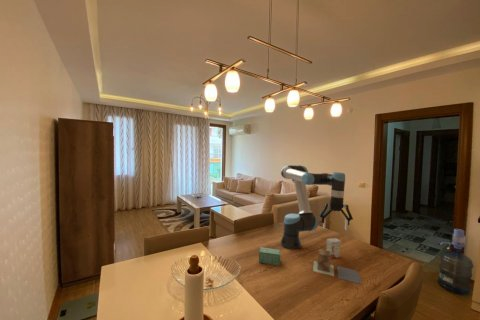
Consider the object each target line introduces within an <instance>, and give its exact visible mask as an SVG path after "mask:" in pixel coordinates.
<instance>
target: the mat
mask: <svg viewBox="0 0 480 320" xmlns="http://www.w3.org/2000/svg"><path fill="white" fill-rule="evenodd" d="M336 270H337V279H338V280H343V281H346V282H351V283H356V284H358V283H359V285H362V280H361V277H360V273H358V272H359V271H358V270H355V269H351V268H346V267H342V266H336ZM357 271H358V272H357Z"/></svg>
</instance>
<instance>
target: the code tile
mask: <svg viewBox="0 0 480 320" xmlns="http://www.w3.org/2000/svg"><path fill="white" fill-rule="evenodd" d="M317 267H318V260H317V261H315V260H313V266H312V272H314V273H315V272H316V273H320V274H322V275H323V274H325V275H327V276H332V277H335V269H334V268H335V266H334V265H333V264H330V272H326V271H322V270H318V269H317Z"/></svg>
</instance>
